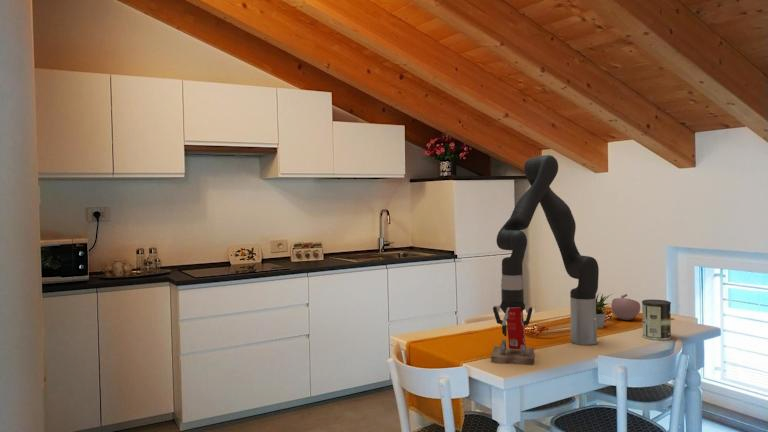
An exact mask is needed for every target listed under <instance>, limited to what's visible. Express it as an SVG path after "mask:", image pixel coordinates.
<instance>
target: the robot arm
mask: <svg viewBox="0 0 768 432" xmlns="http://www.w3.org/2000/svg"><path fill="white" fill-rule="evenodd" d="M523 168H524V169H523V170H524V175H525V177H526V179H527V182H528V183H529V185H530V187H529V188H528V190H526V191H525V193H524V194H523V195H521V197H520V198H519V199H518V201H517V202H516V205H515V206H514V208H513V211H512V212H511V215H510V217H509V218H508V219H507V221H506V222H505V223H504V224H503V226H502V227H501V228H500V230H499V231H498V233H497V236H496V245H497V247H498V248H499V249H500V250H503V251H511V253H510V254H511V255H510V256H507V257H504V258H502V260H501V280H500V281H501V282H500V283H501V284H500V288H501V291H500V293H501V303H500V305H494V306H493V307H492V311H493V314H494V318H495V321H496V323H497V325H498V324H499V325H501V326H502V329H501V330H502V331H501V332H502V335H504V337H508V329H507V318H508V311H509V308H511V307H515V308H516V307H520V308H521V310H522V312H523V311H525V312H526V319H525V320H524V322H523V321H522V322H523V324H522V325H523V326H524V327H525V326H528V325H529V324H530V321H531V318H532V317H531V316H532V315H533V314H532V313H533V309H534V308H533V307H532V306H527V305H526V304H525V303H524V301H525V300H524V295H525V294H524V288H525V287H524V276H523V262H524V257H525V254H526V249H527V246H528V239H527V238H528V237H527V235H526V233H525V232H524V231H523V230H526V229H528V228H529V226H530V224H531V222H532V219H533V217H534V214H535V212H536V209H537V208H538V206H539V204H540V207H541V208H542V212H543V213H544V215H545V218H546V221H547V223H548V225H549V227H550V230H551V232H552V235H553V236H554V238H555V242H556V244H557V247H558V250H559V252H560V255H561V259H562V262H563V265H564V268H565V272H566V273H567V275H568V277H570V278H572V279H576V280H578V281H577V283H578V284H577V286H576V287H574V288H572V289H571V290H570V293H569V294H570V295H569V297H570V302H569V303H570V342H571V343H573V344H576V345H580V346H581V345H582V346H583V345H584V346H586V345H587V346H590V345H598V328H597V319H596V298H597V293H598V291H599V273H600V271H599V270H600V269H599V263H598V261H597V260H596V258H594V257H593V256H589V255H588V256H587V255H581V254H580V252H579V250H578V247H577V245H576V241H575V235H576V231H577V229H576V228H577V226H576V221H575V217H574V215H573V213H572V210H571V209H570V206H569V204H567V203H566V202H565V201H564V200H563V199H562V198H561V197H560V196H558V194H557V193H556V192H554V191H553V190H552V188H551V187H550V186H551V184H552V183H553V181H554V180H555V178H556V176H557V174H558V172H559V162H558V160H557V158H556V157H555V156H554V155H552V154H551V155H550V154H545V155H539V156H535V157H529V158H527V160H526V161H525V163H524V165H523ZM501 310H502V312H503V313H504V316H503V319H501V316H500V311H501ZM523 313H524V312H523Z"/></svg>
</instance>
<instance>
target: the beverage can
mask: <svg viewBox="0 0 768 432" xmlns="http://www.w3.org/2000/svg"><path fill="white" fill-rule="evenodd" d="M522 321H523V322H524V321H525V320H524V312H522V310H521V308H520V307H516V308H515V307H511V308H509V311H508V318H507V321H506V325H507V338H508V339H507V340H508V341H507V342H508V347H509V348H510V349H512V350H520V345H525V347H526V346H527V345H526V344H527V343H526V344H525V340H526V335H525V326H523V325H522V324H523V322H522ZM526 348H527V347H526Z"/></svg>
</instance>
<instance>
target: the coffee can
mask: <svg viewBox="0 0 768 432" xmlns="http://www.w3.org/2000/svg"><path fill="white" fill-rule="evenodd" d="M641 304H642V305H641V310H642V314H641V315H642V321H641V322H642V337H643V338H644V339H648V340H652V341H669V340H671V339H672V329H671V328H672V325H671V322H672V319H671V317H672V313H671V312H672V311H671V309H672V308H671V304H672V302H671V301H669V300H666V299H663V300H662V299H643V300H641Z"/></svg>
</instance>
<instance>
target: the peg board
mask: <svg viewBox="0 0 768 432" xmlns="http://www.w3.org/2000/svg"><path fill="white" fill-rule="evenodd" d="M526 342H527V340H526V339H525V344H527V343H526ZM490 358H491V359H490V363H491V362H497V363H496V364H509V363H514V365H530V366H534V365H535V364H534V363H535V347H525V345H520V350H512V349H510V348H509V346H507V339H506V338H502V339H501V343H499V346H496V345H495V346H494V347H493V350H492V352H491V355H490Z"/></svg>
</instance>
